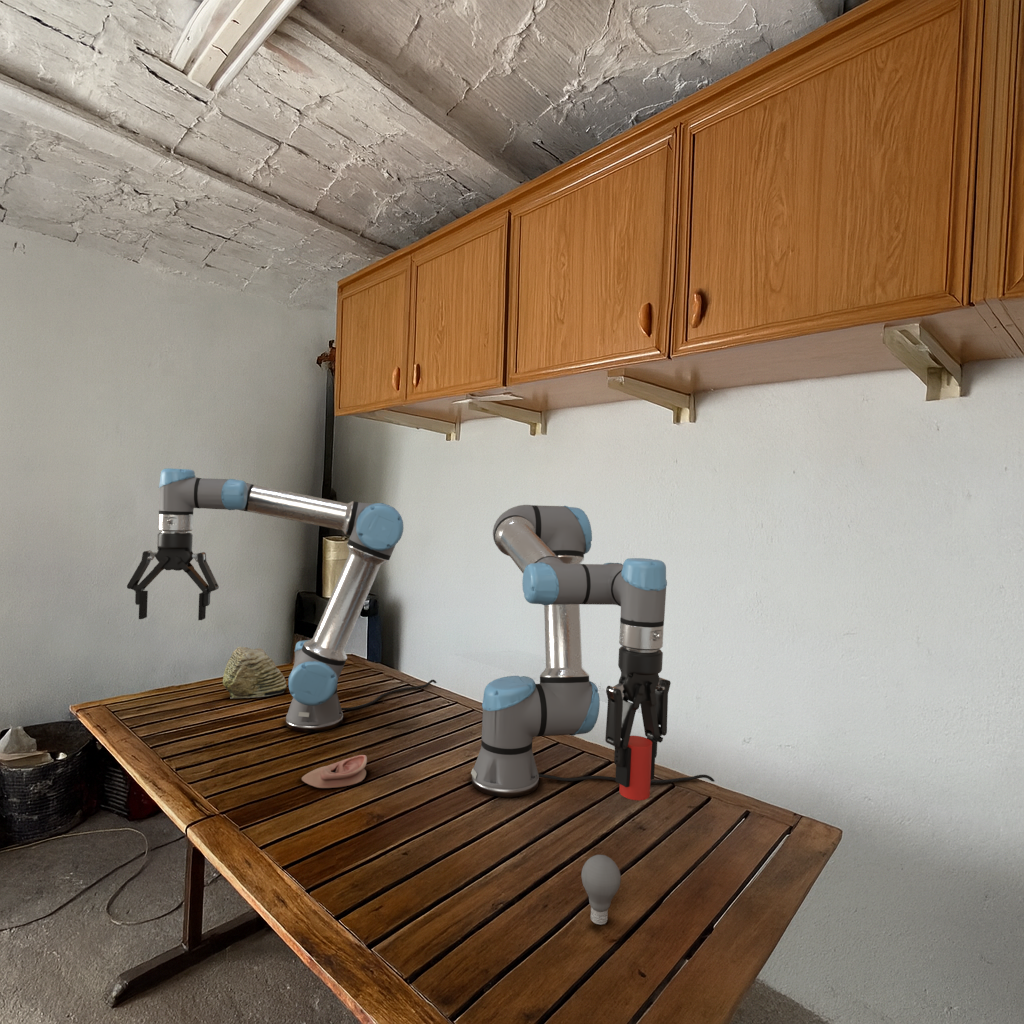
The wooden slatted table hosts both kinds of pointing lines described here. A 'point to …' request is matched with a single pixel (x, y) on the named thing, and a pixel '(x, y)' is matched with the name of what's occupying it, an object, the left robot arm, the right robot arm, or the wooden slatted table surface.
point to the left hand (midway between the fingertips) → (172, 618)
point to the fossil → (252, 674)
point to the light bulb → (600, 885)
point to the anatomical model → (338, 773)
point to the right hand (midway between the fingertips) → (634, 779)
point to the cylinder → (639, 769)
